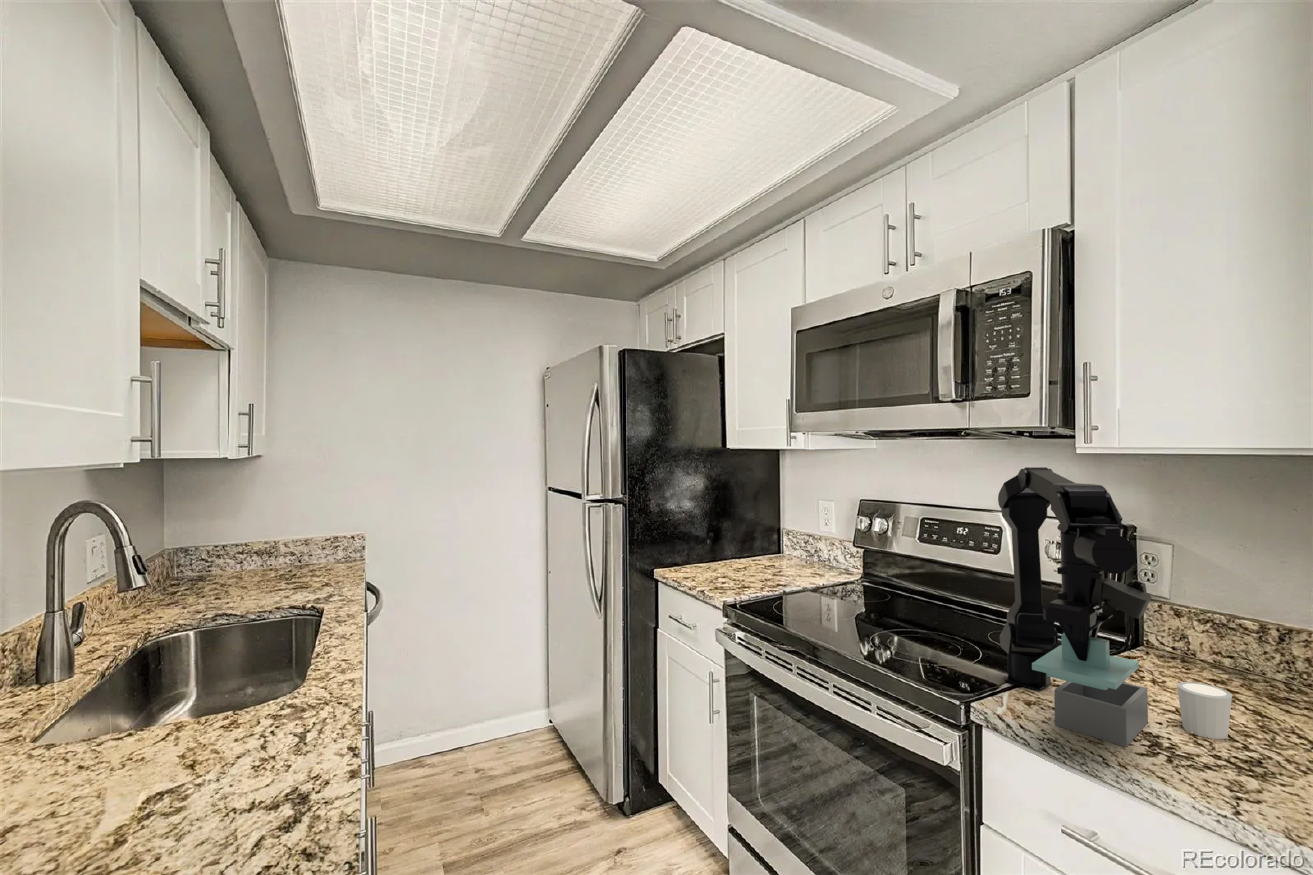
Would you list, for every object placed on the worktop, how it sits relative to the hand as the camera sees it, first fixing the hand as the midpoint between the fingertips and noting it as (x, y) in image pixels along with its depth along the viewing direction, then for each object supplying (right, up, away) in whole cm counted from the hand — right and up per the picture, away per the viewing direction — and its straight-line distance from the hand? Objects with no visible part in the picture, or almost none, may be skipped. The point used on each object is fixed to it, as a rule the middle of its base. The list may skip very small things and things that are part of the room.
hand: (1084, 658), depth 98 cm
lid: (0, -3, 0) cm, 3 cm away
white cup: (+22, -14, +3) cm, 26 cm away
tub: (+7, -14, +6) cm, 17 cm away
